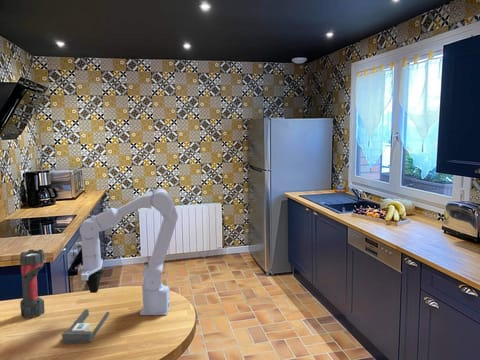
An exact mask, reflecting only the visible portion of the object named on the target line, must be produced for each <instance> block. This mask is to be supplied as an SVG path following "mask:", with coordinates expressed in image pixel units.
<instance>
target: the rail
mask: <svg viewBox="0 0 480 360" xmlns="http://www.w3.org/2000/svg"><path fill="white" fill-rule="evenodd" d="M89 315H90V312H89V309H88V308H87V309H84V310H83V311H82V312H81V313H80V314H79V316H78V317H77V318H76V319H75V321H74V322H73V324H72V325H71V326H70V327H69V328H68V329H67V330H66V331H63V332H62V333H61V340H62V344H91V342H92V340H94V338H95V337H96V335H97V333H98V332H99V330H100V328H101V327H102V326H103V324H104V323H105V322H106V320H107V318H108V317H109V315H110V311H106V312H105V314H104V315H103V317H102V318H101V319H100V321H99V323H97V325H96V327H95V328H94V329H93V330H92V331H91V330H90V331H78V332H72V329H73V328H74V327H75V326H76V324H77V323H84V322H85V320H86V319H88V316H89Z"/></svg>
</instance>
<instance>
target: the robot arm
mask: <svg viewBox="0 0 480 360" xmlns="http://www.w3.org/2000/svg"><path fill="white" fill-rule="evenodd" d="M152 207H153V208H154V209H155V210H156V211H158V212H159V213H160V214H161V217H162V222H161V225H160V228H159V230H158V231H159V232H158V234H157V237H156V241H155V244H154V247H153V251H152V253H151V256H150V259H149V261H148V263H147V265H146V266H145V267H144V269H143V270H142V276H143V277H142V278H143V280H142V286H141V289H142V291H141V292H142V309H141V310H140V312H139V315H140V316H166V315H167V314H168V312H169V309H170V308H171V293H170V292H171V291H170V286H168V285H165V284H163V282H162V281H163V280H162V279H163V278H162V274H163V269H164V263H165V260H166V256H167V254H168V250H169V248H170V244H171V241H172V239H173V234H174V231H175V227H176V225H177V222H178V219H179V217H178V213H177V208H176V206H175V203H174V200H173V199H172V196H171V195H170V193H169V192H168V191H167V190H166V189H165V188H162V187H158V188H156V189H154V190H153V191H152V190H151V191H148V192H146V193H143V194H142V195H140V196H138V197H137V198H134V199H132V200H131V201H129V202H127V203H125V204H124V205H122V206H120V207H118V208H114V207H110V208H109V207H106V208H104V209H103V211H102V212H100V213H98V214H96V215H94V214H93V215H91V216H90V218H87V219H84V220H83V222H81V225H80V227H79V234H80V236H81V251H82V252H81V254H82V255H81V256H82V265H81V266H80V267H79V270H80V271H81V270H82V272H81V274H80V281H85V282H86V284H87V287H88V289H89V293H90V294H96V293H98V291H99V286H100V281H101V277H102V275H103V272H104V270H103V269H102V268H103V264H104V259H103V258H102V257H101V254H102V253H101V240H100V236H99V232H104V231H106V230H107V229H110V228H111V227H113V226H115V225H118V224H119V223H120V222H121V220H122V218H123V217H125V216H127V215H129V214H131V213H133V212H136V211H138V210H140V209H145V208H146V209H150V210H151V209H152Z"/></svg>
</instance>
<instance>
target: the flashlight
mask: <svg viewBox="0 0 480 360" xmlns="http://www.w3.org/2000/svg"><path fill="white" fill-rule="evenodd" d="M19 257H20V259H19V260H20V273H21V287H22V299H21V300H20V303H19V304H20V317H21V318H27V319H31V318H32V317H40V316H41V314H45V300H44V299H43V298H41V297H39V296H38V279H37V276H38V274H39V272H40V271H41V270H42V269H43V267H44V265H45V262H46V261H45V260H46V258H45V252H44V250H43V249H38V250H37V249H36V250H35V249H29V250H28V251H21V252H20V255H19Z"/></svg>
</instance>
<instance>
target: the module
mask: <svg viewBox="0 0 480 360" xmlns="http://www.w3.org/2000/svg"><path fill="white" fill-rule="evenodd" d="M90 324H91V323H90V322H89V323H88V322H86V323H84V322H83V323H77V324H76V326H75V327H74V328H73V329H72V332H78V331H91V325H90Z"/></svg>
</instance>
